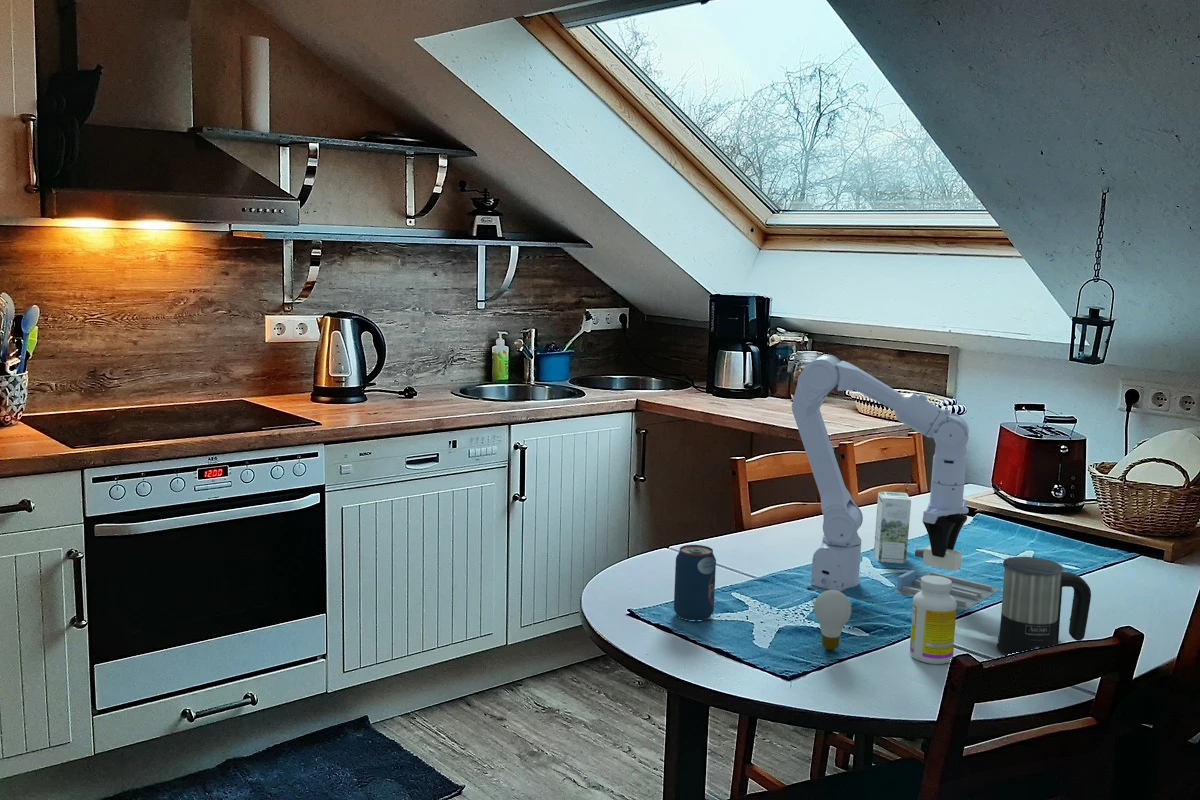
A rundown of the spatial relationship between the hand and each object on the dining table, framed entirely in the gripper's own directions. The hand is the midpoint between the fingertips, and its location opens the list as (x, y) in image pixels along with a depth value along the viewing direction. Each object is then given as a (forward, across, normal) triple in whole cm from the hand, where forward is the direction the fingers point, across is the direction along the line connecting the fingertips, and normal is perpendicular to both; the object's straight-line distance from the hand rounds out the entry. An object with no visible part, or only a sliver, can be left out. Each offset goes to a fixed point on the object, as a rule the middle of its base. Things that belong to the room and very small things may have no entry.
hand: (942, 554), depth 198 cm
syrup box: (+9, +14, +17) cm, 24 cm away
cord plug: (+2, 0, 0) cm, 2 cm away
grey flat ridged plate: (+9, +4, 0) cm, 9 cm away
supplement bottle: (+9, -28, -11) cm, 31 cm away
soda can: (+9, -40, +27) cm, 49 cm away
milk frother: (+9, -10, -20) cm, 24 cm away
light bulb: (+9, -36, +2) cm, 38 cm away
